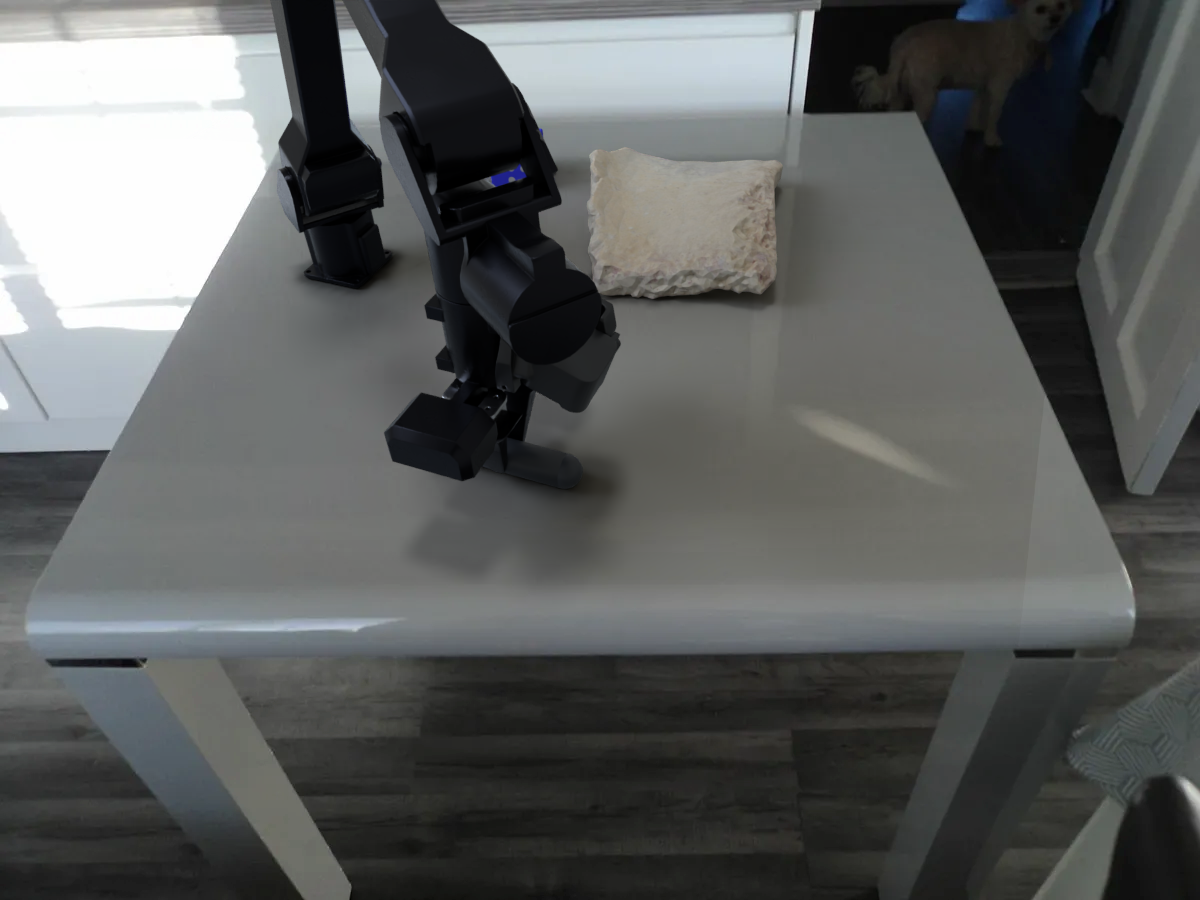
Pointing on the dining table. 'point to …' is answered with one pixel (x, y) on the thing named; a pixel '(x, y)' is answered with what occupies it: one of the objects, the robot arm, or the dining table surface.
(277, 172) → the robot arm
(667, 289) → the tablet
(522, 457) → the dark grey capsule
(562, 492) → the dining table surface
